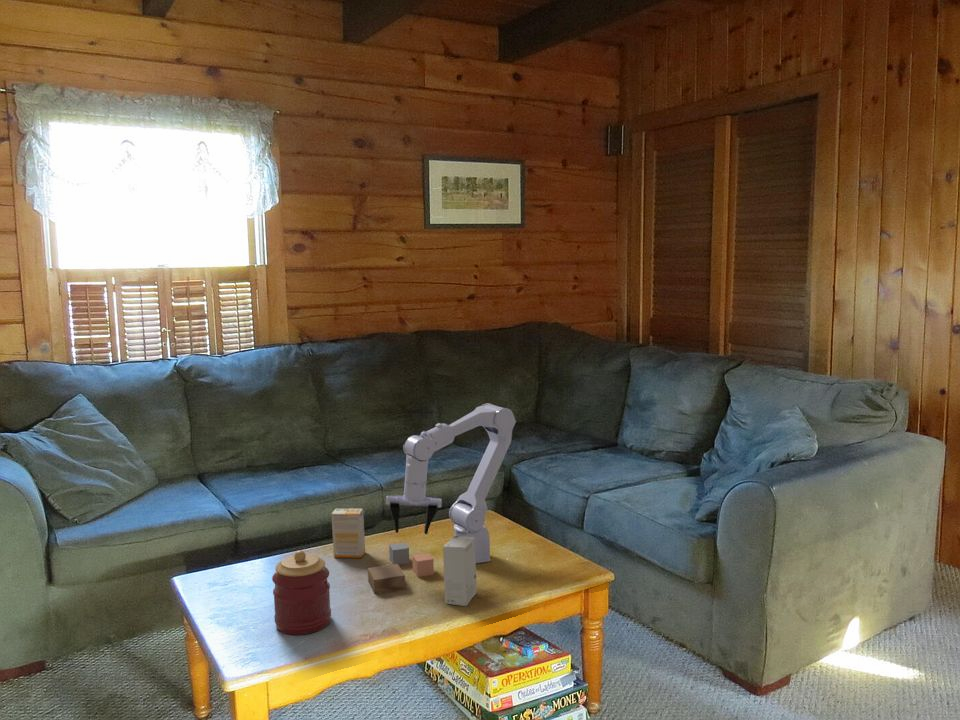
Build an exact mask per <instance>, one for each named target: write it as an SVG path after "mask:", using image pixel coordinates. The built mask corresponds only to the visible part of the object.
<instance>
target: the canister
mask: <svg viewBox="0 0 960 720" xmlns="http://www.w3.org/2000/svg"><path fill="white" fill-rule="evenodd" d="M329 576H330V570H329V568H327V567H326V561H325V560H324V559H323V558H321V557H320V556H317V555H315V554H312V553H305V551H304V550H301V549H300V550H297V551H295V553H294V554H292V555H289V556H287V557H285V558H283V559H282V560H281V561H280V562H278V563H277V564H276V565H275V572H274V573H273V575H272V577H271V580H272V582H273V583H274V588H273V590H272V595H273V601H274V616H273V617H274V624H275V626H276V629H277V630H278V631H279V632H281V633H284V634H286V635H290V636H291V635H294V636H299V635H308V634H313V633H315V632H318V631H321V630H322V629H324V628H326V626H328V625H329V624H330V622H331V616H332V608H331V597H330V588H331V584H330V582H328V577H329Z"/></svg>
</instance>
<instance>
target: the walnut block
mask: <svg viewBox="0 0 960 720" xmlns="http://www.w3.org/2000/svg"><path fill="white" fill-rule="evenodd" d="M367 581H368V584H369V586H370V588H371V590H372V592H373V594H374V595H375V594H376V595H377V594H383V593H389V592H390V593H391V592H395V591H402V590H406V575H405V573H404V572H403V570H402V569H401V567H400V565H398V564H392V563H391V564H386V565H380V566H373V567H367Z"/></svg>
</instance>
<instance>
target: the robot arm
mask: <svg viewBox="0 0 960 720" xmlns="http://www.w3.org/2000/svg"><path fill="white" fill-rule="evenodd" d="M516 423H517V420H516V418H515V414H514V413H513V411H512V410H511V409H510V408H507V407H501V406H498V405H494V404H493V403H489V402H488V403H484V404H481V405H480V406H477V407H475V409H474V410H473V411H471V412H469V413H468V414H466V415H464V416H462V417H461V418H459V419H457V420H455V421H454V422H451V423H450V424H447V423H441V422H440V423H439V422H438V423H436V424H435V427H432V428H431V429H429V430H426V431H425V430H423V431H422V432H421V433H420V434H419V435H417V434H416V435H415V434H414V435H411V436H409V437H408V438H407V440H405V443H404V444H403V445H402V449H403V452H404V454H405V456H406V458H405V472H404V486H403V495H385V496H386V498H385V505H387V506H389V509H390V512H391V515H392V517H393V520H394V526H395V530H394V531H395V533H397V534H398V533H399V521H400V506H401V505H402V506H416V507H417V506H418V507H426V514H425V515H426V516H425V523H424V534H425V535H428V534H429V529H430V526H431V524H432V521H433V519H434V517H435V515H436V514H437V512H438V508H442V504H443V502H442V500H443V499H442V498H436V497H428V496H426V493H427V492H426V491H427V490H426V489H427V479H428V478H427V477H428V468H429V466H428V465H429V460H430V459H431V458H432V457H433V455H434V453H435V452H437V451H438V450H441V449H443V448H444V447H446V446H448V445H451V444H452V443H453V442H454V440H455V437H456V436H459V435H462V434H464V433H466V432H469V431H470V430H473V429H475V428H477V427H483V429H485V431H486V432H487V433H486V434H487V435H488V437H489V443H488V445H487V447H486V448H485V451H484V453H483V455H482V458H481V460H480V463H479V465H478V466H477V469H476V471H475V473H474V475H473V477H472V479H471V481H470V484H469V486H468V488H467V490H466V491H465V492H464V493H462V494H460V495H459V496H458V497H457V499H456V501H455V502H454V503H453V504H452V505H451V506H450V508H449V511H448V516H449V519H450V521H451V522H452V523H453V528H454V529H453V532H454V533H453V534H454V536H461V537H474V538H475V561H476V564H482V563H487V562H491V561H492V559H491V550H490V549H491V546H490V545H491V541H490V539H491V538H490V533H489V530H488V528H487V527H486V526H485V522H486V516H487V515H486V514H487V512H488V511H489V509H488V505H487V502H486V498H487V496H488V494H489V491H490V489H491V487H492V485H493V483H494V480H495V478H496V476H497V474H498V472H499V470H500V467H501V466H502V464H503V461H504V458H505V457H506V454H507V452H508V450H509V448H510V445H511V443H512V437H513V430H514V427H515V425H516ZM454 536H453V537H454Z"/></svg>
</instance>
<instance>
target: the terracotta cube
mask: <svg viewBox="0 0 960 720" xmlns="http://www.w3.org/2000/svg"><path fill="white" fill-rule="evenodd" d="M434 570H435V569H434V558H433V557H432V555H431V554H430V553H429V552H428V553H427V552H426V553H420V554H414V555H413V554H412V572H413V573H414V574H416V575H415V576H416V577H417V578H423V577H428V575H430V576H433V575H435V574H434V573H435V571H434ZM422 576H423V577H422Z"/></svg>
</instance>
